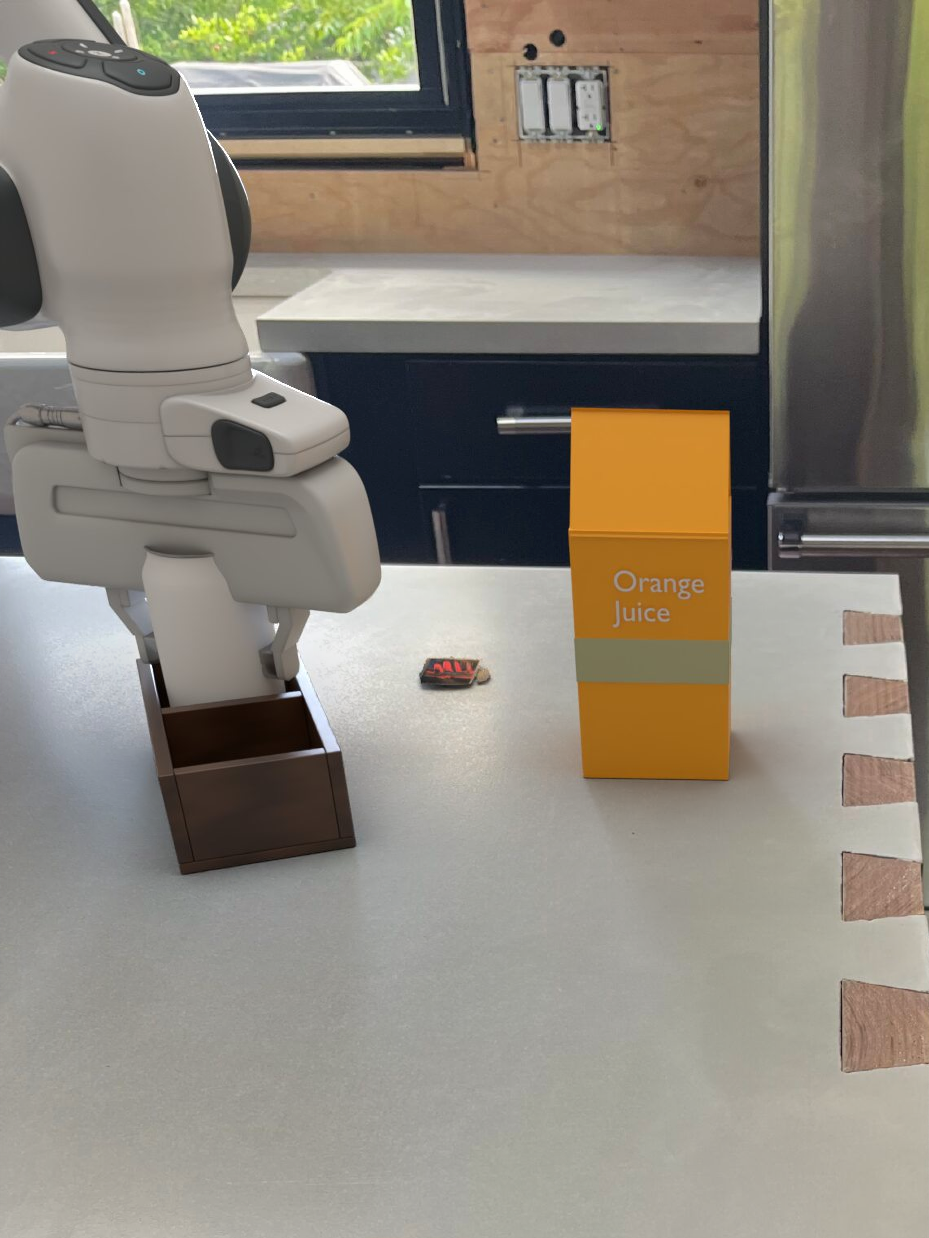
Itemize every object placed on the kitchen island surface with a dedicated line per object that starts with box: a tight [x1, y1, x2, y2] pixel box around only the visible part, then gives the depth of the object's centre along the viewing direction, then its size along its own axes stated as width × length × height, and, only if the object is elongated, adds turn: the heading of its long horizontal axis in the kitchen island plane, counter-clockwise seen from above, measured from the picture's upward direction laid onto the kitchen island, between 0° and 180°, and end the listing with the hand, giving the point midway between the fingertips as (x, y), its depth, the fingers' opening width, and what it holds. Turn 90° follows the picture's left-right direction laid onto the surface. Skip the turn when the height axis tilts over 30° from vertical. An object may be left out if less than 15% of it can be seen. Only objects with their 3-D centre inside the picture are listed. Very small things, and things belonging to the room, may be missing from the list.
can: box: [142, 546, 286, 707], centre depth 85 cm, size 6×6×12 cm
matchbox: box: [418, 655, 491, 686], centre depth 101 cm, size 5×5×1 cm
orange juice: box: [567, 407, 733, 781], centre depth 86 cm, size 8×9×20 cm
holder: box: [135, 648, 357, 875], centre depth 85 cm, size 9×17×6 cm, turn 23°
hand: (222, 669), depth 86 cm, fingers closed on can, 6 cm apart
